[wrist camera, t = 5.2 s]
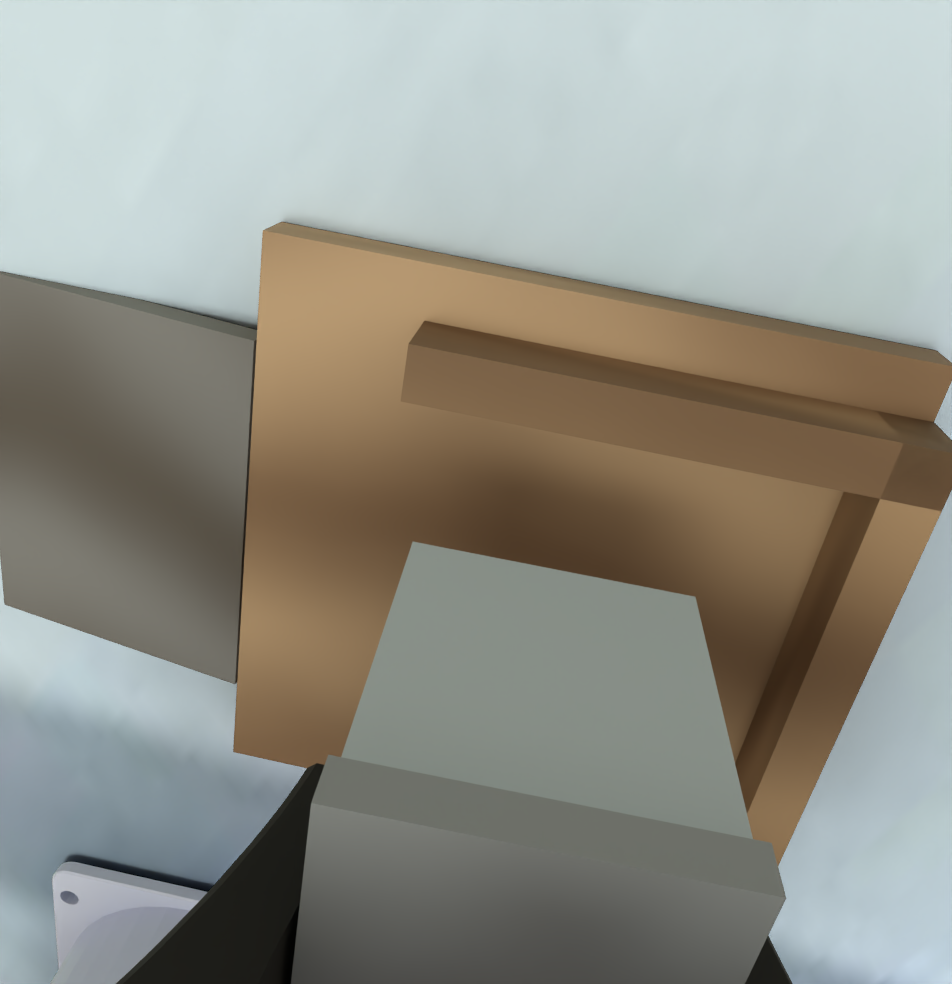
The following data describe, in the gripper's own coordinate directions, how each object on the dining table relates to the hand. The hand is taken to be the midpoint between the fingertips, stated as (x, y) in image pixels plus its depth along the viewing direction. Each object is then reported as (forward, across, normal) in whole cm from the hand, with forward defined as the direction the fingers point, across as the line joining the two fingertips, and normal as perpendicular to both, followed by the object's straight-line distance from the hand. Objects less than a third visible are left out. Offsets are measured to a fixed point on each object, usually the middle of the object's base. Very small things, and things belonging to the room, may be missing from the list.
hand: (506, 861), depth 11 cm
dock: (+8, +3, 0) cm, 9 cm away
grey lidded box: (+2, 0, 0) cm, 2 cm away
